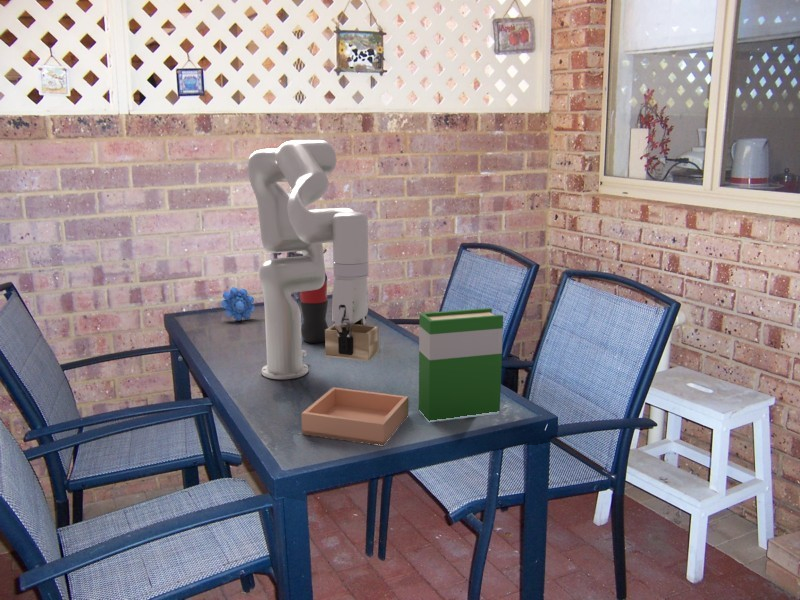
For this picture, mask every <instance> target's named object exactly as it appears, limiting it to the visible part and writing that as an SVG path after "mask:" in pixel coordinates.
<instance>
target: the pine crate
mask: <svg viewBox="0 0 800 600" xmlns="http://www.w3.org/2000/svg"><path fill="white" fill-rule="evenodd" d="M344 327H346V329H347V331H348V326H344ZM337 334H338V332H337V330H336V327H335V323H333V325H331V326H330V327H328V328H327V329H326V330H325V341H324V342H325V343H324V345H325V346H324V348H325V353H324V354H325V357H326V358H327V357H329V358H337V359H345V360H346V359H347V360H356V361H363V362H365V361H366V362H368V361H370V360H371V359H372V358H374V357H375V356H376V355H377V354H379V351H380V350H379V348H380V347H379V326H376V325H367V324H366V325H357V324H353V327H352V334H351V337H353V354H352V355H345V354H339V343H338V335H337Z"/></svg>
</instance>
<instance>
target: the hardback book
mask: <svg viewBox="0 0 800 600" xmlns="http://www.w3.org/2000/svg"><path fill="white" fill-rule="evenodd" d="M492 310H493V309H492V307H486V308H472V309H471V308H470V309H459V310H458V309H457V310H445V311H444V310H443V311H432V312H420V313H419V317H418V318H419V320H418V321H419V324H418V325H419V326H418V327H419V328H418V329H419V332H418V335H419V336H418V337H419V338H418V339H419V341H418V348H419V349H418V357H419V358H418V411H419V410H420V411H421V412H422V413H423V414H424V416H425V417H426V418H427V419H428V420H429V421H430V420H437V419H446V418H454V417H460V416H467V415H476V414H482V413H489V412H497V411H500V412H501V392H502V391H501V388H502V387H501V385H502V364H503V363H502V362H503V361H502V359H503V339H504V338H503V334H504V333H503V332H504V315H503V314H494V313H492V312H493V311H492ZM424 416H423V417H424Z"/></svg>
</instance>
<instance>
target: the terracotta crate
mask: <svg viewBox="0 0 800 600" xmlns="http://www.w3.org/2000/svg"><path fill="white" fill-rule="evenodd" d="M300 415H301V435H302V434H305V435H304V436H309V435H311V437H316V436H321V437H320V438H323V437H327V438H326V439H329V438H334V439H333V440H336V439H342V440H341V441H343V440H348V441H347V442H349V441H355V442H354V443H356V442H363V443H370V444H378V445H379V444H380V445H384V444H385V443H386V442H387V440H388V439H389V438H390V437H391V436H392V434H393V433H394V432H395V431H396V429H397V428H398V427H399V426H400V425H401V423H402V422H403V421H404V420H405V419H406V418H407V416H408V417H409V396H408V395H405V396H404V395H398V394H389V393H382V392H376V391H375V392H374V391H368V390H367V391H366V390H360V389H359V390H357V389H350V388H342V387H335V386H333V387H331V388H330V389H329V390H328V391H326V392H325V393H324V394H323V395H322V396H320V397H319V398H318V399H316V401H314V402H313V403H312V404H311V405H309V406H308V407H307V408H306V409H305V410H304V411H302V412H301V414H300ZM407 419H408V418H407ZM407 419H406V420H407ZM406 420H405V421H406ZM405 421H404V422H405ZM401 426H402V425H401ZM401 426H400V427H401ZM400 427H399V428H400ZM396 432H397V431H396ZM396 432H395V433H396ZM395 433H394V434H395ZM392 437H393V436H392ZM392 437H391V438H392ZM391 438H390V439H391ZM390 439H389V440H390ZM389 440H388V441H389ZM363 443H362V444H363ZM387 443H388V442H387ZM387 443H386V444H387ZM370 444H369V445H370ZM386 444H385V445H386ZM385 445H384V446H385Z"/></svg>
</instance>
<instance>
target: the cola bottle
mask: <svg viewBox="0 0 800 600" xmlns="http://www.w3.org/2000/svg"><path fill="white" fill-rule="evenodd" d="M328 301H329V300H328V276H327V274H326V272H325V282H324V284H323V286H322V287H321V288H319V289H317V290H312V291H304V292H300V310H301V314H302V315H301V316H302V318H303V322H302V323H301V338H302V339H303V341H304V342H306V343H309V344H319V343H323V342H325V330H326V329H327V328H329V327H328V323H327V311H328V303H329V302H328Z"/></svg>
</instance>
